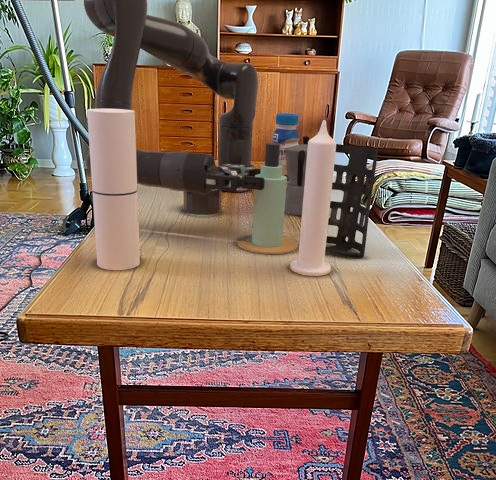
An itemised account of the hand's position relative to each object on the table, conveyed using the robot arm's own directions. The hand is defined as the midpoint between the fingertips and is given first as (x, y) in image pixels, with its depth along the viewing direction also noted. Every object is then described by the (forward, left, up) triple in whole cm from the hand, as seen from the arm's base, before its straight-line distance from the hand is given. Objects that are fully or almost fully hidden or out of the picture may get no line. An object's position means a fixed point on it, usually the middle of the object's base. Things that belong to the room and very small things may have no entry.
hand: (268, 179), depth 100 cm
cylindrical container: (+20, -21, -13) cm, 32 cm away
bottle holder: (-19, -19, -13) cm, 30 cm away
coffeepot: (-28, +3, -13) cm, 31 cm away
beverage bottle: (-65, -8, -13) cm, 67 cm away
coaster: (0, +1, -13) cm, 13 cm away
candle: (+11, +11, -13) cm, 20 cm away
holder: (-2, +15, -13) cm, 20 cm away
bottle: (0, 0, -12) cm, 12 cm away
